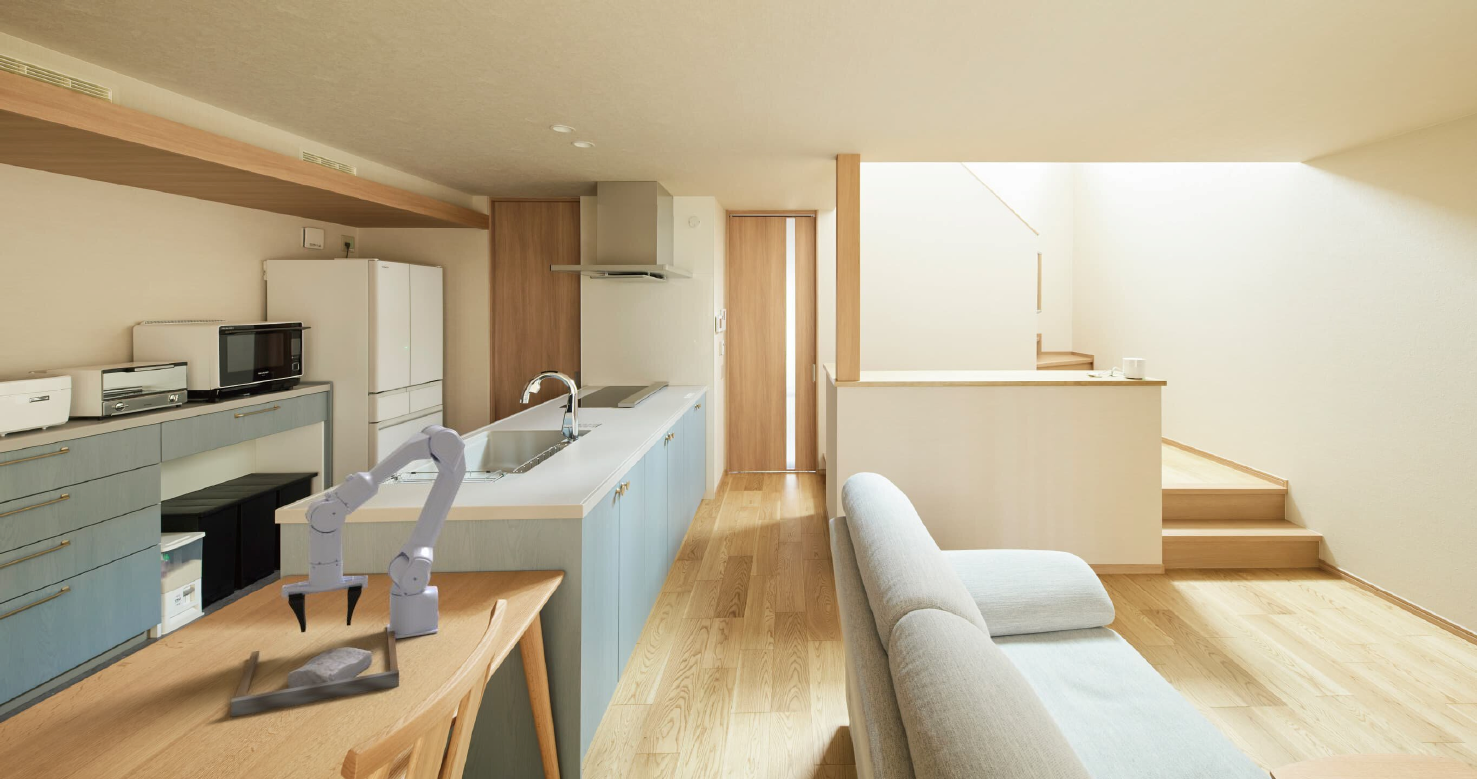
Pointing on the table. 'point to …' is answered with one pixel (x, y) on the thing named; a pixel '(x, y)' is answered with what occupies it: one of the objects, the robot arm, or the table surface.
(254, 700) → the u-shaped frame
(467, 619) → the table surface
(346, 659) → the stone block
